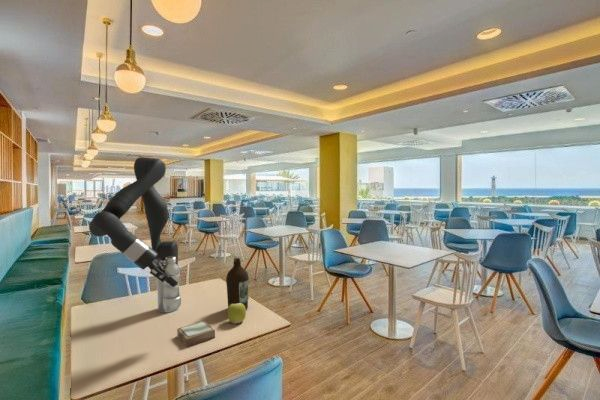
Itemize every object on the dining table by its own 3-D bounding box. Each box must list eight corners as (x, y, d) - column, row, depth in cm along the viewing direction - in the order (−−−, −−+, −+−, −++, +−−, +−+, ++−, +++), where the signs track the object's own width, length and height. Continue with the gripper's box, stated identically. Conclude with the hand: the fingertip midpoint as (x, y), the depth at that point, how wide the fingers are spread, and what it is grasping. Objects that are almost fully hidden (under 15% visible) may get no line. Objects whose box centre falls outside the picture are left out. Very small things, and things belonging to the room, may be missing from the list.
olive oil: (222, 310, 148) (221, 259, 147) (236, 303, 157) (235, 254, 156) (239, 315, 143) (238, 261, 142) (253, 307, 152) (252, 257, 151)
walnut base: (177, 336, 123) (177, 328, 123) (204, 327, 130) (203, 320, 130) (187, 347, 115) (186, 338, 115) (215, 337, 122) (214, 329, 122)
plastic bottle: (185, 306, 120) (183, 255, 119) (172, 313, 114) (170, 260, 112) (172, 304, 122) (170, 254, 121) (158, 311, 116) (157, 258, 114)
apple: (244, 324, 131) (237, 301, 131) (228, 328, 133) (221, 305, 133) (251, 316, 139) (244, 295, 139) (235, 320, 141) (229, 299, 141)
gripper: (145, 250, 107) (182, 280, 112) (151, 242, 121) (184, 269, 125) (128, 266, 106) (167, 296, 110) (136, 256, 119) (170, 283, 124)
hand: (176, 281), depth 118 cm, fingers closed on plastic bottle, 6 cm apart
